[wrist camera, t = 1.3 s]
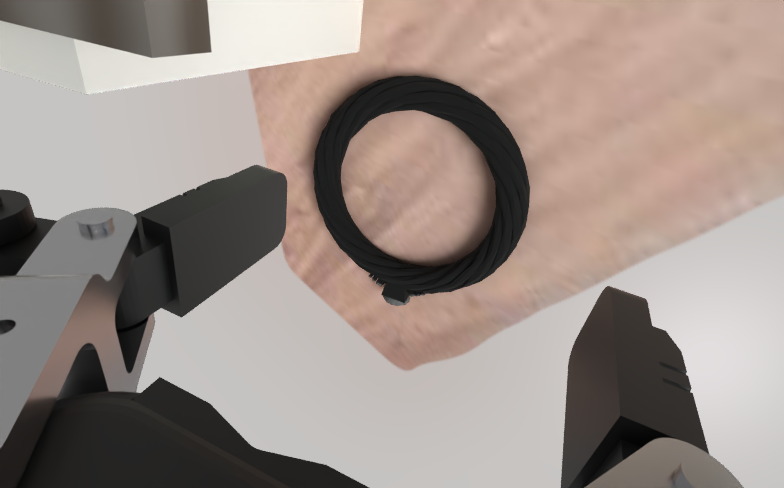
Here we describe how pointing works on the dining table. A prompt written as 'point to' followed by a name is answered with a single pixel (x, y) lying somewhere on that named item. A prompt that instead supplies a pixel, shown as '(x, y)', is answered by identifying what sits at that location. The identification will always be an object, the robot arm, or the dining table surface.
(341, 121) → the cable lock
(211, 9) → the riser
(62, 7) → the block
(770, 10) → the dining table surface
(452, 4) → the dining table surface
